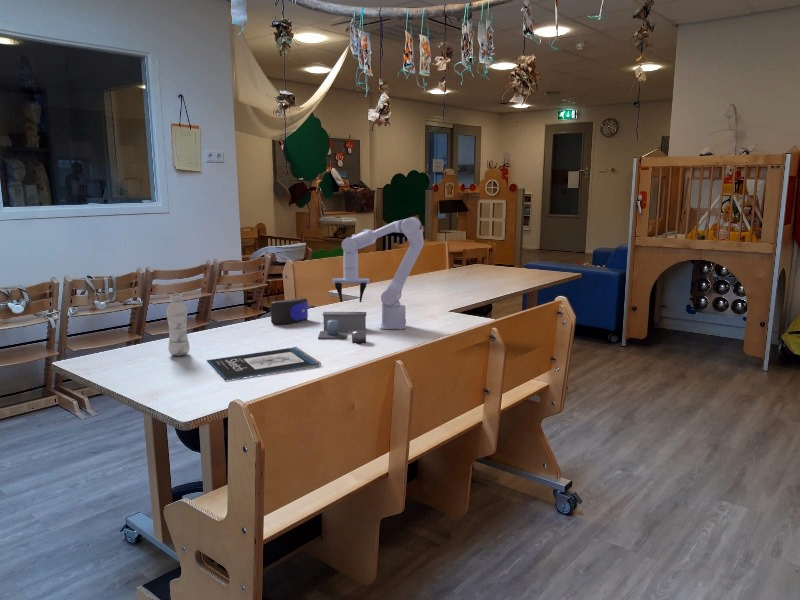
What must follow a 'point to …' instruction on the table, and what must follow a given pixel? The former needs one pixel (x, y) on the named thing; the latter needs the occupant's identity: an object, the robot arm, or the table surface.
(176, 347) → the plastic bottle
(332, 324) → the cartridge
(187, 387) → the table surface
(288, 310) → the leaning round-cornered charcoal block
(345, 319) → the block
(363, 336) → the cap
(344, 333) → the mat
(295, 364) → the sketchbook
